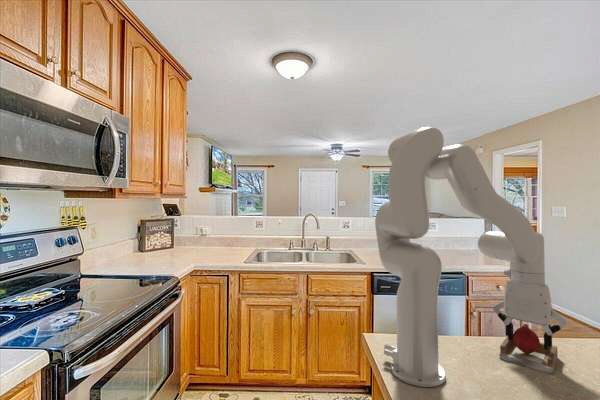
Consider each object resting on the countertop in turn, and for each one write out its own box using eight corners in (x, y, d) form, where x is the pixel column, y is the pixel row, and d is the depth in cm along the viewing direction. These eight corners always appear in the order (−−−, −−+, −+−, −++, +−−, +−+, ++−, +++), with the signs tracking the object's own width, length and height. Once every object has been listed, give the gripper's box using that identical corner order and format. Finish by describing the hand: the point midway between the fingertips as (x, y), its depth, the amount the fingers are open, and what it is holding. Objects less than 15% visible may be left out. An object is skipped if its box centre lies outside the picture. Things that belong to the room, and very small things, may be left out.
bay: (499, 358, 82) (499, 346, 82) (508, 344, 89) (508, 334, 89) (552, 374, 74) (552, 361, 74) (557, 357, 82) (557, 346, 82)
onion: (538, 361, 78) (537, 330, 78) (511, 354, 82) (510, 324, 82) (541, 353, 82) (540, 323, 82) (515, 347, 86) (514, 318, 86)
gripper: (486, 274, 86) (487, 338, 85) (568, 286, 73) (570, 360, 73) (493, 270, 91) (494, 330, 91) (571, 280, 78) (572, 349, 78)
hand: (528, 343), depth 82 cm, fingers open, 7 cm apart
